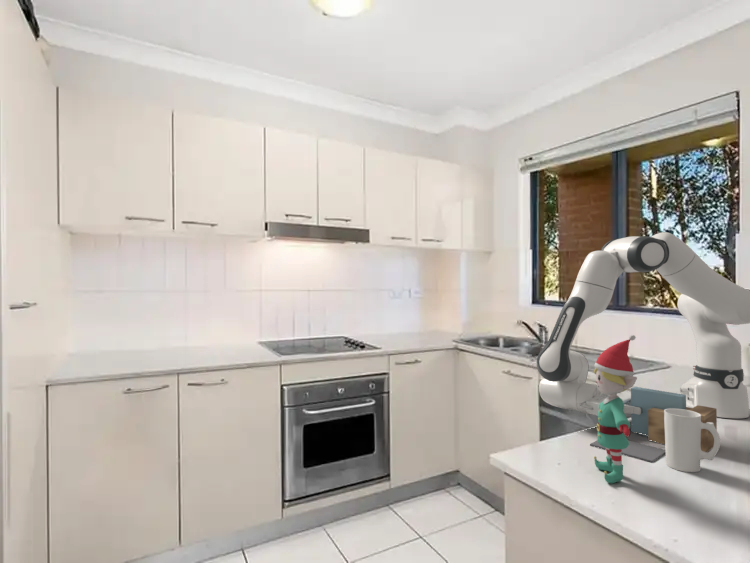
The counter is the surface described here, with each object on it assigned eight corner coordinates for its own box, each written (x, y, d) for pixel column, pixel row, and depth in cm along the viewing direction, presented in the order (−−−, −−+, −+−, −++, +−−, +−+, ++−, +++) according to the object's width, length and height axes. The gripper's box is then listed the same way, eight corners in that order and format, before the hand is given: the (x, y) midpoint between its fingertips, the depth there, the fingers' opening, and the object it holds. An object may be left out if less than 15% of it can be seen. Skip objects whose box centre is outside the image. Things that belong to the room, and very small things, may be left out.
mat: (590, 445, 112) (590, 443, 112) (607, 436, 118) (607, 435, 118) (651, 462, 101) (651, 460, 101) (667, 451, 107) (667, 450, 107)
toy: (586, 459, 103) (584, 330, 103) (623, 462, 101) (621, 330, 101) (608, 494, 86) (606, 339, 86) (653, 498, 84) (651, 340, 84)
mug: (661, 466, 98) (660, 412, 99) (668, 458, 103) (667, 406, 103) (718, 480, 91) (717, 422, 92) (722, 470, 96) (722, 415, 96)
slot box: (648, 440, 115) (648, 405, 115) (663, 432, 121) (662, 399, 121) (704, 454, 105) (703, 416, 106) (716, 444, 112) (716, 408, 112)
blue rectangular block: (631, 432, 121) (630, 388, 121) (635, 429, 123) (635, 386, 123) (682, 444, 112) (682, 396, 112) (686, 441, 114) (686, 394, 114)
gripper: (575, 394, 124) (628, 404, 114) (608, 383, 137) (658, 391, 126) (576, 417, 124) (629, 429, 114) (608, 404, 137) (658, 414, 126)
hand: (644, 409), depth 120 cm, fingers closed on blue rectangular block, 3 cm apart
